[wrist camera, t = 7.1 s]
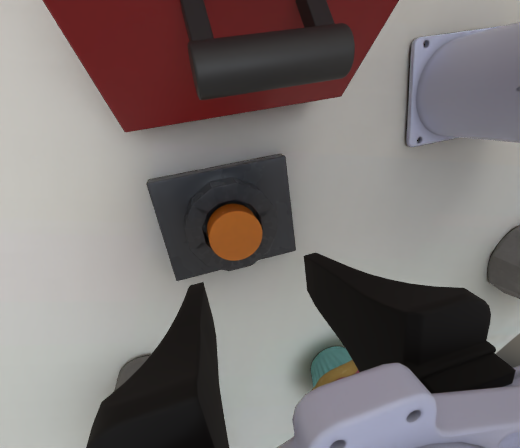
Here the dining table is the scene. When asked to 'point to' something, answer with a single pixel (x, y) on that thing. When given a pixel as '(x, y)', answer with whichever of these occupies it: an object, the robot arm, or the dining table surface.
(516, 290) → the coffeepot
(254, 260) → the switch box
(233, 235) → the power button
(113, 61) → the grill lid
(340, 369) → the cupcake
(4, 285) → the dining table surface
